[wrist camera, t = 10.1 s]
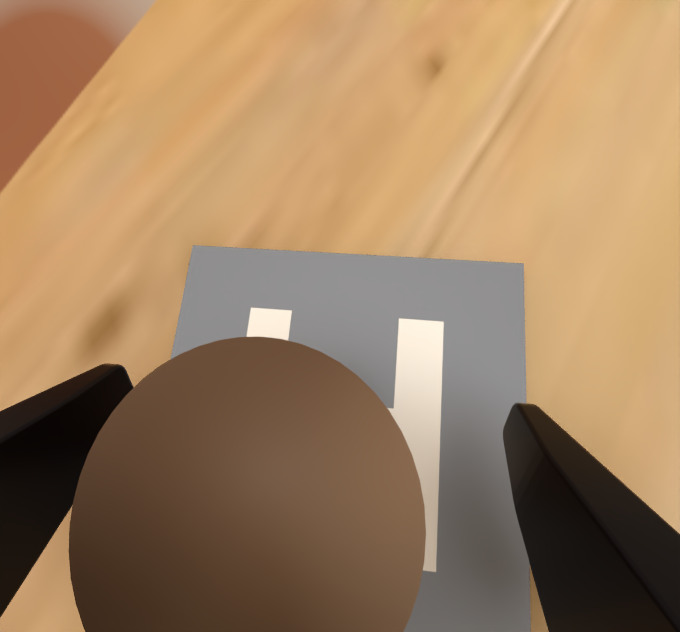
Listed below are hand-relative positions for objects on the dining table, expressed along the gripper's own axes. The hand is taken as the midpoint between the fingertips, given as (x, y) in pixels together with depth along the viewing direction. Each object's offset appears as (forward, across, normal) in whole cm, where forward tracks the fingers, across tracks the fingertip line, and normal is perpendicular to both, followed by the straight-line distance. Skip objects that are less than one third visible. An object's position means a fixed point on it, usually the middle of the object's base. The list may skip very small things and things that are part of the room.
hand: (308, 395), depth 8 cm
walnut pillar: (+4, 0, +6) cm, 8 cm away
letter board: (+5, 0, +7) cm, 8 cm away
